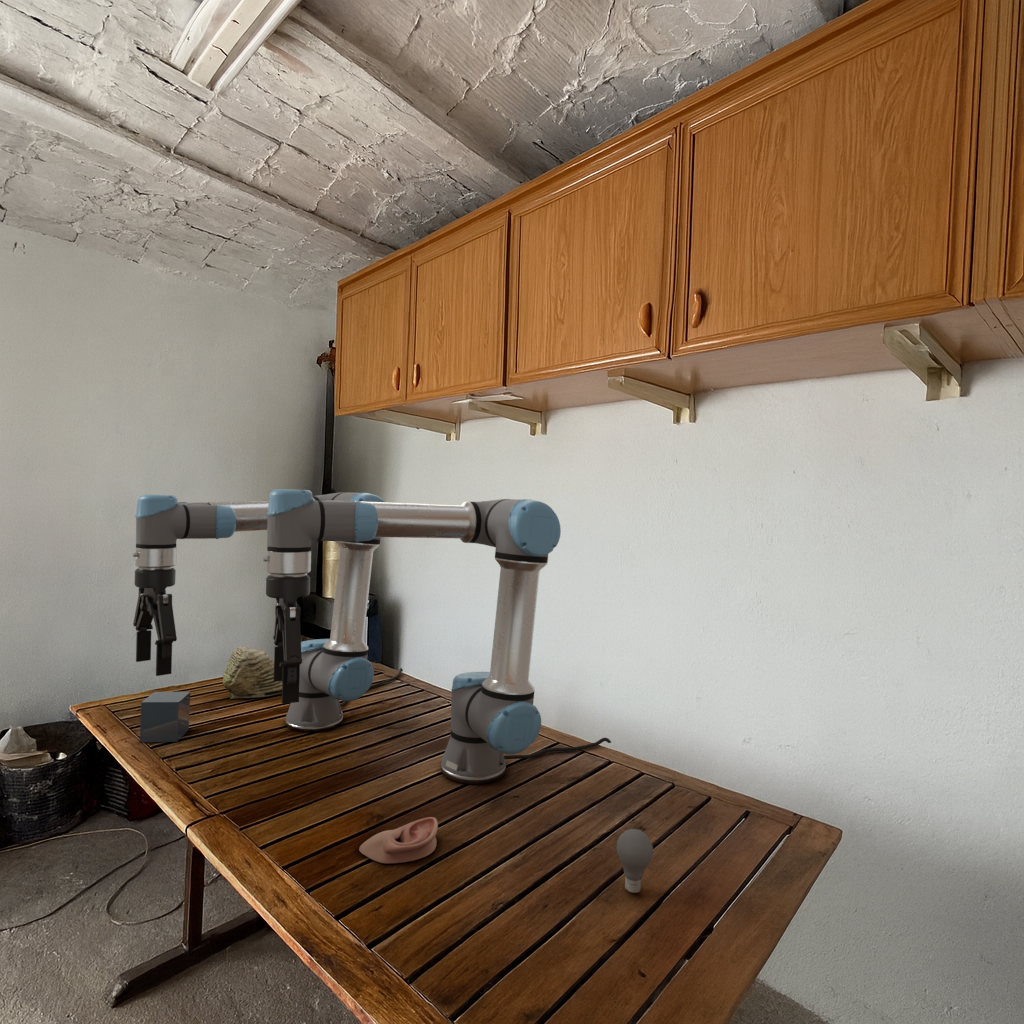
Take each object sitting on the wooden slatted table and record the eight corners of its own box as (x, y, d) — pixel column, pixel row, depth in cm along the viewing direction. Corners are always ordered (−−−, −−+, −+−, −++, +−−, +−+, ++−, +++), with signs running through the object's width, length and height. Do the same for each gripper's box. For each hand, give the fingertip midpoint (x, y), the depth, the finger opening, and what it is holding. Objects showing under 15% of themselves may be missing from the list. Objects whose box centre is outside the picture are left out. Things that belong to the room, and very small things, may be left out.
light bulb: (610, 879, 108) (613, 822, 108) (644, 879, 109) (647, 822, 109) (619, 902, 102) (622, 840, 102) (655, 901, 103) (658, 840, 103)
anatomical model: (352, 836, 111) (378, 805, 123) (351, 858, 111) (377, 826, 123) (423, 847, 109) (444, 815, 120) (422, 870, 109) (443, 836, 120)
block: (153, 730, 166) (154, 691, 166) (189, 729, 168) (190, 691, 167) (139, 742, 158) (141, 702, 158) (177, 741, 159) (178, 702, 159)
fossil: (218, 695, 195) (220, 647, 195) (278, 685, 208) (279, 640, 207) (228, 703, 189) (230, 653, 188) (289, 692, 201) (290, 645, 201)
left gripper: (118, 562, 140) (116, 658, 140) (154, 575, 122) (152, 684, 123) (156, 561, 145) (153, 652, 146) (195, 573, 128) (193, 677, 128)
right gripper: (260, 566, 124) (258, 674, 125) (273, 584, 102) (270, 715, 102) (300, 566, 127) (297, 670, 128) (321, 583, 105) (318, 710, 105)
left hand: (153, 667), depth 134 cm, fingers open, 13 cm apart
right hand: (285, 691), depth 115 cm, fingers open, 13 cm apart
